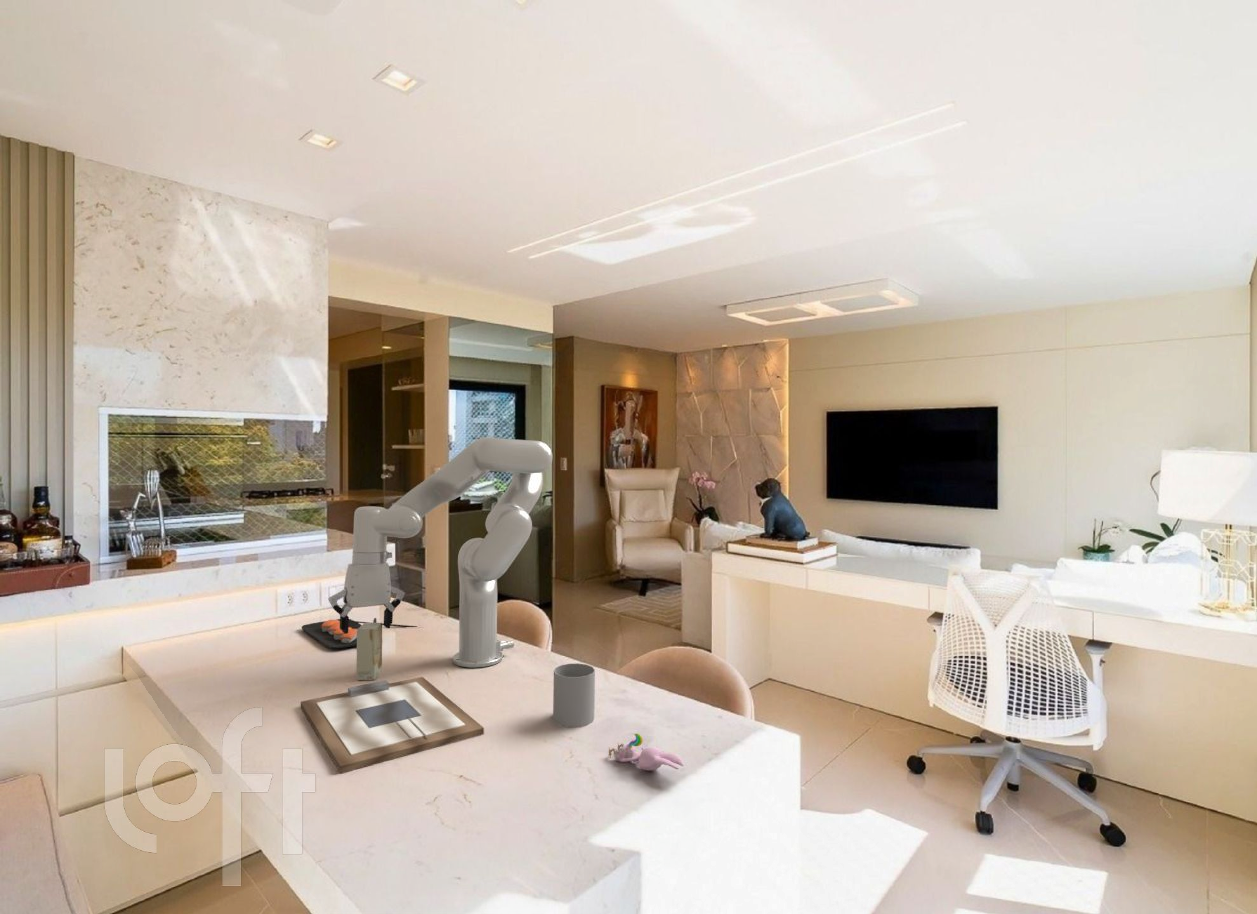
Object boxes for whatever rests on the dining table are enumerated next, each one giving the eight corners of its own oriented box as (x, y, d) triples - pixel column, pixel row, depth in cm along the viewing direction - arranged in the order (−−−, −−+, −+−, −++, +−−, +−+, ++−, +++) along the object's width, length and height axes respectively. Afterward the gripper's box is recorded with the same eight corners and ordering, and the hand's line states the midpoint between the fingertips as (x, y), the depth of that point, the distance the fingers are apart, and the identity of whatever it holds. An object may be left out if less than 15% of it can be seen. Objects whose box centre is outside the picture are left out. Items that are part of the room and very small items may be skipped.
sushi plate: (298, 631, 193) (298, 619, 193) (396, 615, 213) (396, 603, 213) (331, 655, 172) (331, 641, 172) (437, 634, 192) (437, 621, 192)
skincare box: (374, 680, 152) (375, 629, 152) (355, 681, 152) (356, 629, 152) (382, 671, 159) (383, 621, 159) (364, 671, 158) (364, 621, 158)
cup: (600, 714, 135) (600, 666, 135) (584, 730, 127) (585, 679, 127) (563, 708, 138) (564, 661, 138) (546, 723, 130) (546, 674, 130)
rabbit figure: (603, 769, 115) (670, 784, 105) (599, 734, 115) (666, 746, 106) (626, 757, 120) (692, 770, 110) (622, 723, 120) (688, 734, 111)
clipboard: (422, 681, 152) (422, 669, 152) (483, 734, 125) (483, 719, 125) (300, 707, 136) (300, 694, 136) (340, 773, 109) (340, 757, 109)
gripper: (400, 554, 163) (397, 621, 163) (326, 558, 153) (323, 630, 153) (410, 558, 157) (407, 628, 157) (334, 563, 147) (331, 638, 147)
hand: (366, 629), depth 155 cm, fingers open, 9 cm apart
